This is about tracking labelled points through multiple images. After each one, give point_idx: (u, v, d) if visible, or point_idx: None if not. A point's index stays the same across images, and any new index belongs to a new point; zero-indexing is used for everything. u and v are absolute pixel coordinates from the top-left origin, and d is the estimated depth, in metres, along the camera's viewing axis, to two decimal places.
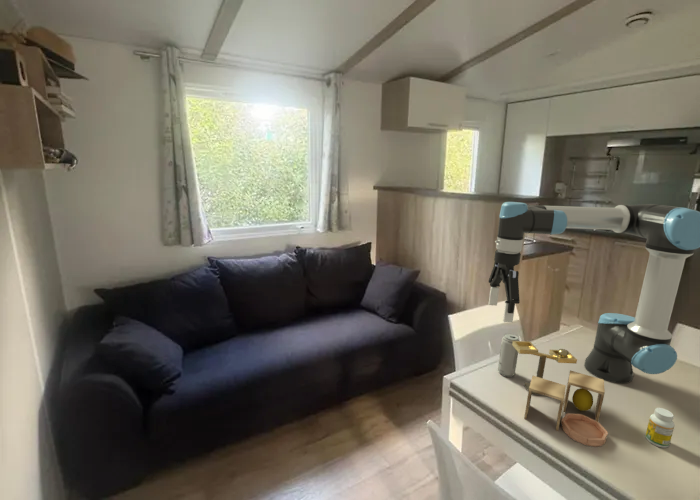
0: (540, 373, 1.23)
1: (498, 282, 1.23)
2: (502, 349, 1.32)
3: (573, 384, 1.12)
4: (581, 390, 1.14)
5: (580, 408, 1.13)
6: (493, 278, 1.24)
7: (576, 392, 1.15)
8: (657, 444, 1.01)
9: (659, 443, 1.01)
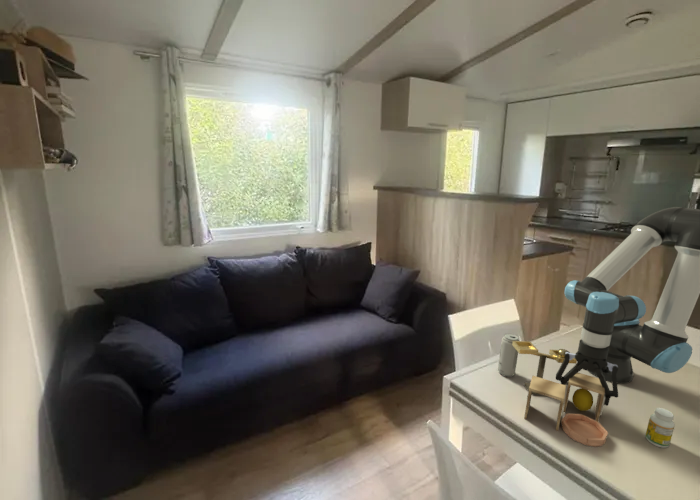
0: (540, 373, 1.23)
1: (602, 386, 1.11)
2: (502, 349, 1.32)
3: (573, 384, 1.12)
4: (581, 390, 1.14)
5: (580, 408, 1.13)
6: (605, 381, 1.11)
7: (576, 392, 1.15)
8: (657, 444, 1.01)
9: (659, 443, 1.01)
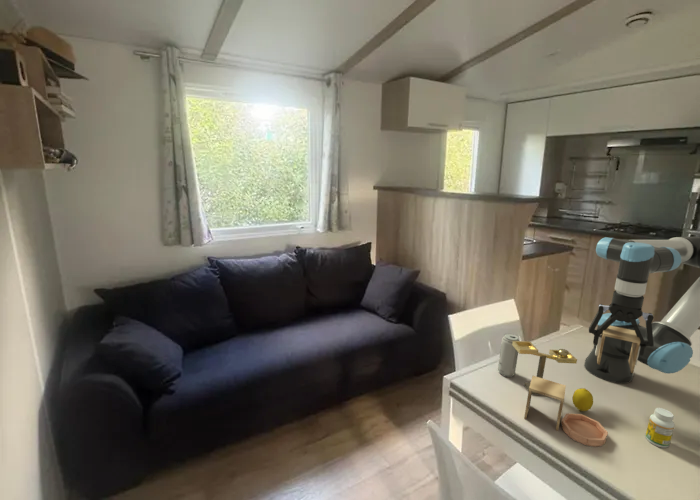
0: (540, 373, 1.23)
1: (637, 336, 1.12)
2: (502, 349, 1.32)
3: (608, 335, 1.13)
4: (581, 390, 1.14)
5: (580, 408, 1.13)
6: None
7: (576, 392, 1.15)
8: (657, 444, 1.01)
9: (659, 443, 1.01)
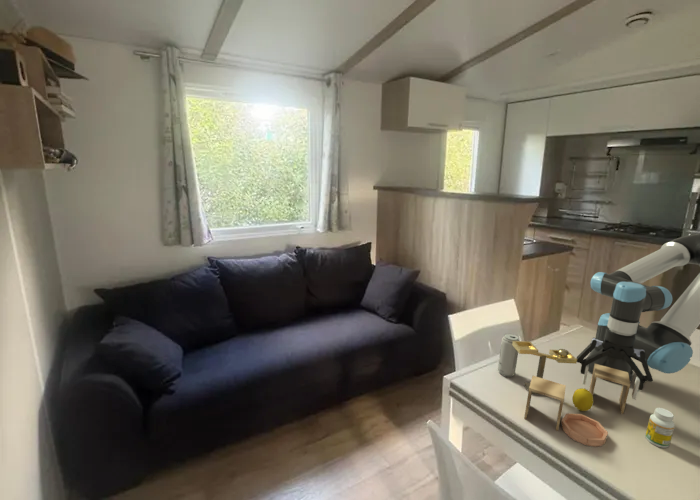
0: (540, 373, 1.23)
1: (635, 372, 1.14)
2: (502, 349, 1.32)
3: (599, 376, 1.16)
4: (581, 390, 1.14)
5: (580, 408, 1.13)
6: (636, 366, 1.15)
7: (576, 392, 1.15)
8: (657, 444, 1.01)
9: (659, 443, 1.01)
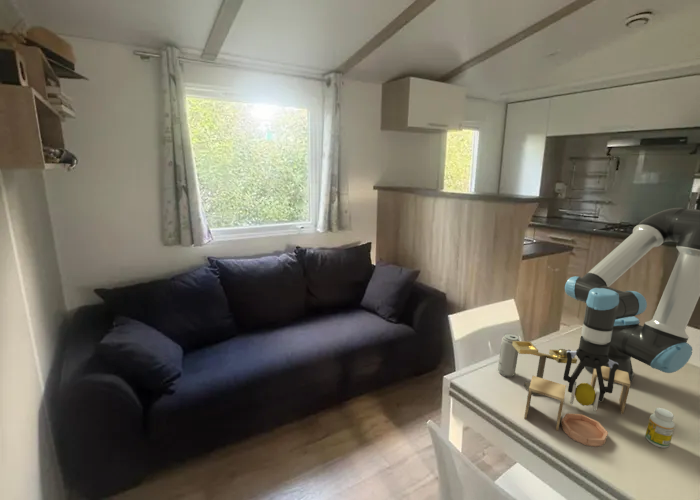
0: (540, 373, 1.23)
1: None
2: (502, 349, 1.32)
3: None
4: (583, 385, 1.14)
5: (582, 403, 1.13)
6: None
7: (578, 387, 1.14)
8: (657, 444, 1.01)
9: (659, 443, 1.01)
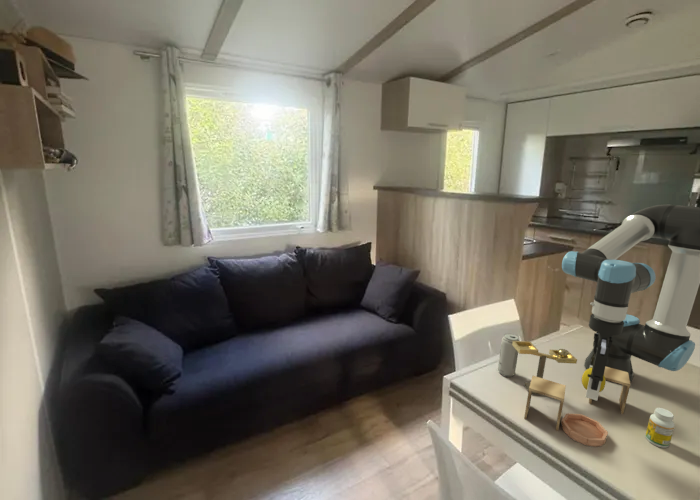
0: (540, 373, 1.23)
1: None
2: (502, 349, 1.32)
3: None
4: None
5: (602, 389, 1.01)
6: (593, 352, 1.04)
7: None
8: (657, 444, 1.01)
9: (659, 443, 1.01)
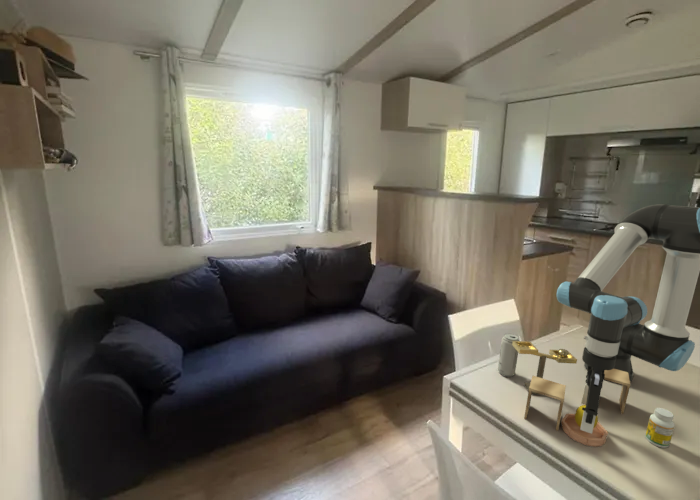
0: (540, 373, 1.23)
1: None
2: (502, 349, 1.32)
3: None
4: None
5: None
6: None
7: None
8: (657, 444, 1.01)
9: (659, 443, 1.01)
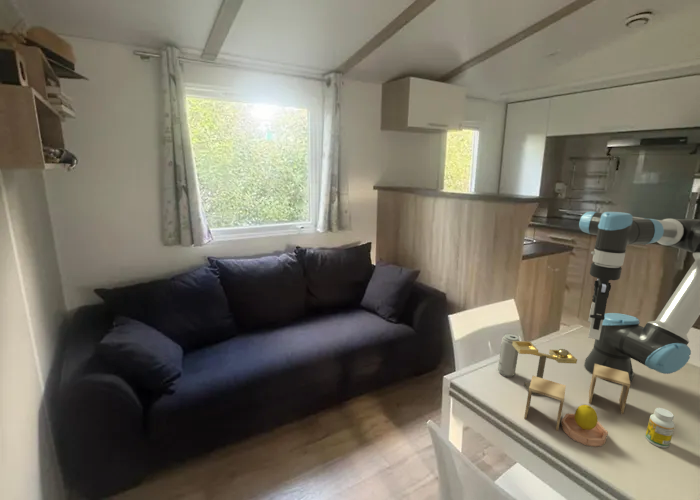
0: (540, 373, 1.23)
1: None
2: (502, 349, 1.32)
3: (599, 376, 1.16)
4: (590, 409, 1.03)
5: None
6: None
7: (590, 415, 1.02)
8: (657, 444, 1.01)
9: (659, 443, 1.01)
